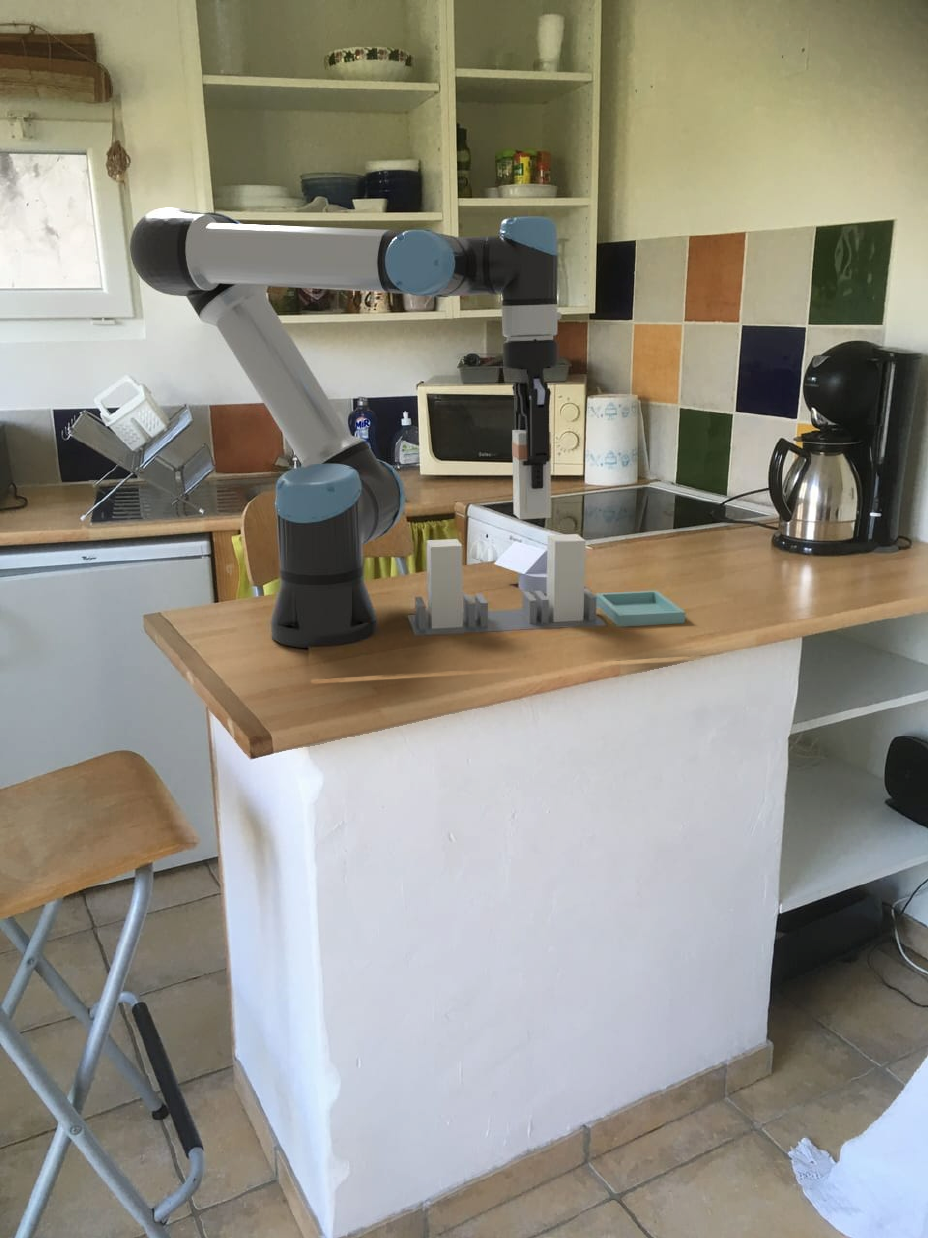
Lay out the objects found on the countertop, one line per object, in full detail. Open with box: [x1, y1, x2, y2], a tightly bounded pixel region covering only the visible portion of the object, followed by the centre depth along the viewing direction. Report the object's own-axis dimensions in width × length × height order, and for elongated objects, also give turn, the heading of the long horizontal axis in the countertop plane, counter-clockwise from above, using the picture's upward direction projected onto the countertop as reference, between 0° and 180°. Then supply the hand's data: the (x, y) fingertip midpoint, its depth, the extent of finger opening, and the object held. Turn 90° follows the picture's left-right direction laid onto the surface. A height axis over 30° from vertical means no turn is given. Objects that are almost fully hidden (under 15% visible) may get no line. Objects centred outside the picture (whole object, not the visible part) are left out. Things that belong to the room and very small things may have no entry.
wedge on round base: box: [493, 540, 547, 595], centre depth 169 cm, size 9×7×13 cm
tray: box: [594, 590, 686, 628], centre depth 153 cm, size 10×12×2 cm
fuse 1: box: [426, 538, 464, 629], centre depth 147 cm, size 4×4×12 cm
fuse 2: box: [545, 533, 587, 622], centre depth 150 cm, size 4×4×12 cm
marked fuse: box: [511, 429, 552, 520], centre depth 144 cm, size 5×5×12 cm
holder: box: [407, 587, 607, 637], centre depth 150 cm, size 28×10×4 cm, turn 99°
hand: (532, 507), depth 146 cm, fingers closed on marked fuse, 4 cm apart
